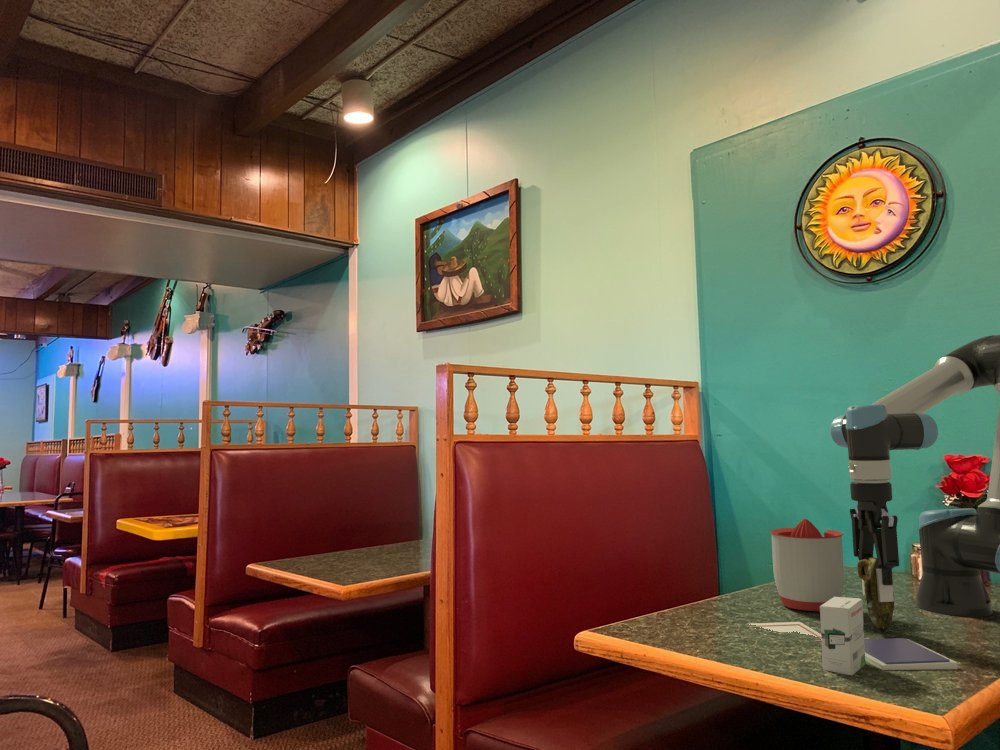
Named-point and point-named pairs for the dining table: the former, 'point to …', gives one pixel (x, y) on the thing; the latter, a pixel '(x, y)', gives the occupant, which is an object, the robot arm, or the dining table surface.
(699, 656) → the dining table surface
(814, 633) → the paper
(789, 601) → the citrus juicer
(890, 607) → the brown mottled tapered part
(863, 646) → the ink box
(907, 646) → the ink pad
